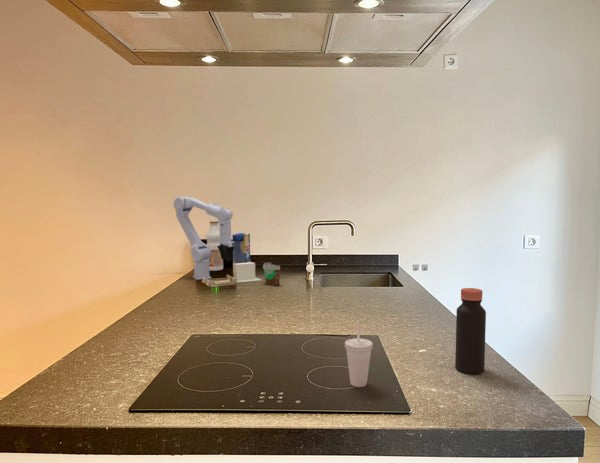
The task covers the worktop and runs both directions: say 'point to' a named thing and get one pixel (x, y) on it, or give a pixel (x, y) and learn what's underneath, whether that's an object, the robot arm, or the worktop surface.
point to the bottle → (470, 332)
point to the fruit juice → (214, 247)
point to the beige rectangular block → (244, 271)
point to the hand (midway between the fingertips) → (226, 259)
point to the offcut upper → (221, 282)
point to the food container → (271, 274)
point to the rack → (210, 281)
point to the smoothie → (358, 359)
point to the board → (249, 280)
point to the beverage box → (241, 248)
